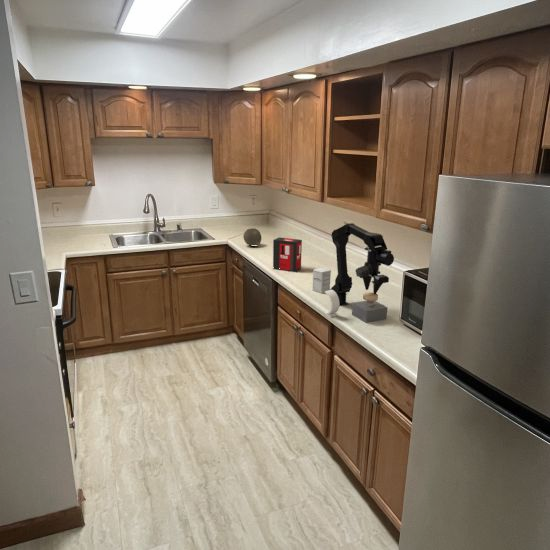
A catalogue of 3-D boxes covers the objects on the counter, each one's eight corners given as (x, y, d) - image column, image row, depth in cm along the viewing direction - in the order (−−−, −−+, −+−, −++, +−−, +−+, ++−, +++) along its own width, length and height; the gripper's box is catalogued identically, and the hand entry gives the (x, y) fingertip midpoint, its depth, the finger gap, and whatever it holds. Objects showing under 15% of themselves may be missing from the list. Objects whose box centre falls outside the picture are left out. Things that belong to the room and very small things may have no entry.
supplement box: (311, 290, 257) (312, 269, 254) (321, 287, 262) (321, 267, 258) (321, 293, 252) (322, 272, 248) (330, 291, 256) (331, 269, 253)
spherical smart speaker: (254, 244, 370) (254, 226, 366) (264, 247, 360) (265, 228, 355) (240, 246, 361) (240, 228, 357) (250, 249, 351) (250, 230, 347)
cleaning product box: (273, 269, 299) (273, 239, 293) (278, 266, 306) (278, 237, 301) (295, 272, 292) (296, 242, 286) (300, 269, 300) (301, 239, 294)
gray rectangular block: (351, 314, 222) (352, 302, 220) (375, 310, 227) (376, 299, 226) (365, 323, 211) (366, 310, 210) (389, 318, 217) (391, 306, 215)
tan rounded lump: (359, 304, 219) (360, 293, 217) (371, 303, 222) (372, 291, 220) (367, 309, 213) (368, 297, 211) (380, 307, 216) (381, 296, 214)
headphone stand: (330, 312, 224) (332, 289, 221) (338, 316, 219) (340, 293, 216) (323, 314, 222) (324, 291, 218) (331, 318, 217) (332, 294, 214)
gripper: (347, 257, 216) (346, 288, 220) (370, 267, 199) (368, 300, 204) (367, 255, 220) (364, 285, 225) (391, 265, 204) (388, 297, 208)
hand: (370, 291), depth 215 cm, fingers open, 6 cm apart
